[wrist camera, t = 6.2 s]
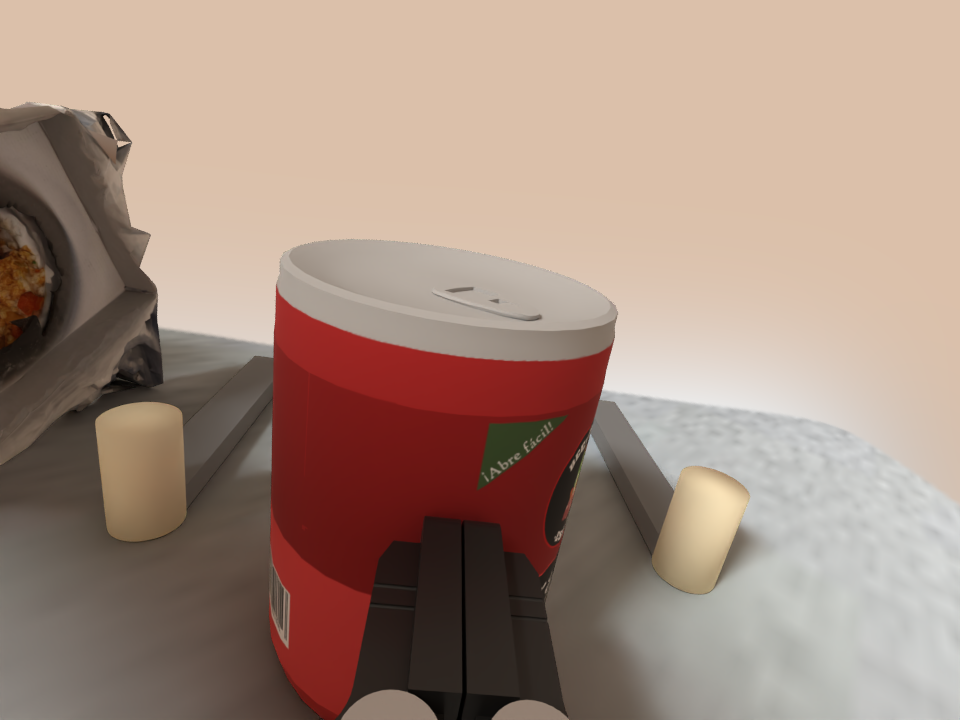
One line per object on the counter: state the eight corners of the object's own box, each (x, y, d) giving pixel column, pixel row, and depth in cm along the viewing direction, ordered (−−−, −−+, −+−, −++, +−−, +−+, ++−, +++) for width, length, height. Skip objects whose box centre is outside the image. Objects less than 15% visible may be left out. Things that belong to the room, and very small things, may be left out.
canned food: (470, 826, 11) (584, 362, 8) (200, 661, 14) (184, 249, 10) (558, 594, 18) (641, 287, 14) (365, 511, 21) (393, 231, 17)
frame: (89, 538, 17) (76, 431, 16) (251, 370, 31) (251, 306, 30) (726, 596, 19) (763, 508, 18) (613, 416, 33) (630, 358, 32)
